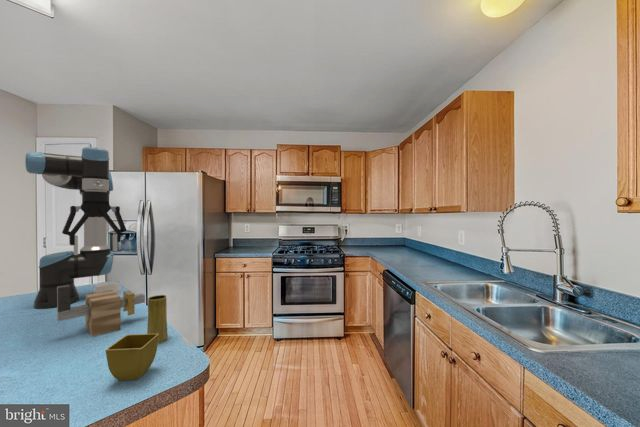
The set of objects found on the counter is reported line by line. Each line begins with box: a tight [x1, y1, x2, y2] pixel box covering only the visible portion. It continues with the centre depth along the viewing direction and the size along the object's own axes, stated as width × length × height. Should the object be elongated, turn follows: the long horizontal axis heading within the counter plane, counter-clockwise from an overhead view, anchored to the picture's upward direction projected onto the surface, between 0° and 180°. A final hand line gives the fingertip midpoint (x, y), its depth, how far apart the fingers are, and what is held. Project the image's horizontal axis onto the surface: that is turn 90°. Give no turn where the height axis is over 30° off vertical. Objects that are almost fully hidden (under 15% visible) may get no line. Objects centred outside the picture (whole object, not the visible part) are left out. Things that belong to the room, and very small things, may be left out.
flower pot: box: [105, 333, 159, 382], centre depth 72 cm, size 9×9×9 cm
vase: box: [146, 294, 169, 344], centre depth 91 cm, size 6×6×14 cm
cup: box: [93, 280, 122, 297], centre depth 117 cm, size 9×9×12 cm
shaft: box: [56, 285, 146, 322], centre depth 101 cm, size 3×25×11 cm, turn 138°
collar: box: [122, 289, 136, 316], centre depth 106 cm, size 7×2×8 cm, turn 48°
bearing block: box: [85, 290, 122, 338], centre depth 100 cm, size 12×8×12 cm, turn 48°
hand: (96, 252), depth 99 cm, fingers open, 10 cm apart
